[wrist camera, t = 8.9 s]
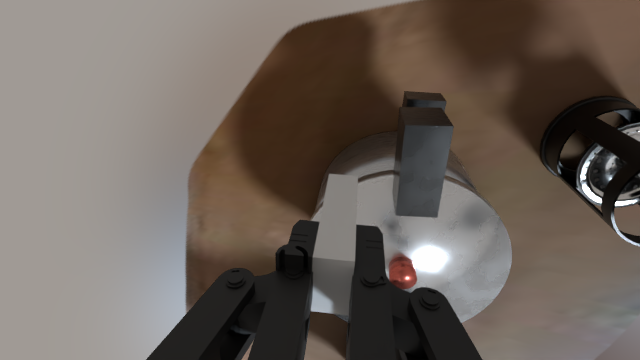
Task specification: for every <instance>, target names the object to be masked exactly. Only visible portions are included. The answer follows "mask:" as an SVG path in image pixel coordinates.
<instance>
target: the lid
mask: <svg viewBox="0 0 640 360" xmlns="http://www.w3.org/2000/svg"><path fill="white" fill-rule="evenodd" d="M453 127H454V126H453V125H452V123H451V122H450V120H449V119H448V117H447V116H446V114H445V112H444V111H443V109H442V108H434V107H400V108H399V119H398V129H397V140H396V150H395V161H394V170H387V171H380V172H376V173H372V174H369V175H365V176H363V177H360V178H358V188H357V217H356V224H357V225H368V226H378V228H379V229H380V231H381V232H382V233H383V243H384V256H385V268H386V275H387V277H388V279H389V281H390V282H391V283H392V284H393V285H395V286H396V287H398V288H400V289H402V290H405V291H408V292H410V293H411V292H412V291H414V290H415V289H416V288H420V287H428V288H432V289H435V290H437V291H439V292H440V293H442V294H443V295H444V296H445V297H446V298H447V300H448V301H449V303H450V305H451V306H452V308H453V310H454V311H455V313H456V315H457V317H458V318H459V320H460V322H461V323H462V322H464V321H466V320H468V319H470V318H472V317H473V316H475V315H476V314H478V313H479V312H480V311H482V310H483V309H484V308H485V307H487V306H488V305H489V304H490V303H491V302H492V301H493V300H494V299H495V297H496V296H497V295H498V294H499V292H500V291H501V289H502V288H503V286H504V284H505V282H506V280H507V277H508V275H509V272H510V267H511V262H512V249H511V241H510V238H509V235H508V232H507V230H506V228H505V226H504V224H503V223H502V221H501V219H500V217H499V216H498V214H497V212H496V211H495V209H494V208H493V207H492V205H491V204H490V203H489V202H488V201H487V200H486V199H485V198H484V197H483V196H482V195H481V194H480V193H479V192H477V191H476V190H474V189H473V188H472V187H470V186H469V185H467V184H465V183H463V182H461V181H459V180H457V179H455V178H452V177H449V176H446V175H445V172H446V166H447V160H448V155H449V149H450V144H451V138H452V132H453ZM323 202H324V201H323ZM323 202H322V203H321V204H320V205H319V207H318V208H317V209H316V210H315V212H314V213H313V215H312V217H311V219H310V220H309V221H318V222H320V217H321V212H322V207H323ZM334 315H336V316H337V317H339V318H341V319H342V320H344V321H346V322H348V319H349V316H348V315H340V314H334Z"/></svg>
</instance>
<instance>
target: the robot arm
mask: <svg viewBox="0 0 640 360" xmlns="http://www.w3.org/2000/svg"><path fill="white" fill-rule="evenodd" d="M357 188H358V176H350V175H338V174H329V177H328V182H327V187H326V192H325V197H324V202H323V207H322V212H321V217H320V222H318V221H307V220H299V221H298V222H297V223H296V224H295V225H294V226H293V229H292V233H291V236H290V239H289V242H288V244H287V245H283V246H282V247H280V248H279V249H278V250H277V252H276V271H274V272H272V273H270V274H267V275H262V276H255V277H254V275H253V274H252V273H251V272H250V271H248V270H247V269H243V268H235V269H230V270H228V271H225V272H224V273H223V274H221V275H220V276H219V277H218V278H217V280H216V281H215V282H214V283H213V284H212V285H211V286H210V288H209V289H208V290H207V291H206V292H205V293H204V294H203V296H202V297H201V298H200V299H199V300H198V301H197V302H196V303H195V305H194V306H193V307H192V308H191V309H190V310H189V311H188V313H187V314H186V315H185V316H184V317H183V319H182V320H181V321H180V322H179V323H178V324H177V325H176V326H175V328H174V329H173V330H172V331H171V332H170V333H169V335H167V337H166V338H165V339H164V340H163V341H162V342H161V344H160V345H159V346H158V347H157V348H156V349H155V350H154V351H153V353H152V354H151V355H150V356H149V357H148V358H147V359H146V360H241V359H242V358H243V356H244V354H245V353H246V351H247V350H248V348H249V346H250V345H251V343H252V341H253V340H254V342H253V345H252V348H251V351H250V354H249V358H248V360H304V355H305V349H306V343H307V336H308V330H309V324H310V311H314V312H322V313H331V314H340V315H348V316H349V319H348V328H347V337H346V341H347V348H346V360H482V358H481V357H480V355H479V353H478V351H477V350H476V348H475V346H474V344H473V343H472V341H471V339H470V337H469V336H468V334H467V332H466V331H465V329H464V327H463V325H462V324H461V322H460V320H459V318H458V317H457V315H456V313H455V311H454V310H453V308H452V306H451V305H450V303H449V301H448V300H447V298H446V297H445V296H444V295H443V294H442V293H440V292H439V291H437V290H435V289H432V288H428V287H420V288H416V289H415V290H414V291H412V292H411V293H410V292H408V291H405V290H402V289H400V288H398V287H396V286H395V285H393V284H392V283H391V282H390V281H389V279H388V277H387V275H386V268H385V256H384V243H383V233H382V232H381V231H380V229H379V228H378V226H368V225H357V224H356V217H357ZM254 338H255V339H254Z"/></svg>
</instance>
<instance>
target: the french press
mask: <svg viewBox="0 0 640 360" xmlns="http://www.w3.org/2000/svg"><path fill="white" fill-rule="evenodd" d="M612 111H614V112H617V113H619V114H621V115H622V116H623V117H624V118H625V119H626V121H627V123H628V124H626V125H622V126H619V127H616V128H614V127H612V126H611V125H609V124H607V123H605V122H603V121H602V120H600V119H598V118H596V117H597V116H600V115H602V114H604V113H608V112H612ZM576 130H577V131H579V132H580V133H582V134H583V135H585V136H586V137H588V138H589V139H591V140H592V141H593V142H592V143H591V144H590V145H589V147H588V148H587V149H586V150H585V152H584V153H583V155H582V156H581V158H580V160H579V162H578V165H577V169H576V170H571V169H568V168H566V167H564V166H562V165H561V164H560V162H559V159H560V154H561V151H562V149H563V146H564V144H565V143H566V141H567V140H568V139H569V137H570V136H571V135H572V134H573V133H574V132H575V131H576ZM540 153H541V158H542V161H543V164H544V165H545V167H546V168H547V169H548V170H549V171H550V172H551V173H552V174H553V175H555V176H557V177H559V178H560V179H561V180H562V181H563V182H564V183H565V184H567V185H568V186H569V187H570V188H571V189H572V190H573V191H574V192H575V193H576V194H577V195H578V196H579V197H580V198H581V199H582V200H583V201H584V202H585V203H586V204H587V205H588V206H589V207H590V208H591V209H593V210H594V211H595V212H596V213H597V214H598V215H599V216H600V217H601V218H602V219H603V220H604V221H605V222H606V223H607V224H608V225H609V226H610V227H611V228H612V229H613V230H614V231H615V232H616V233H617V234H619V235H620V236H621V237H622V238H623V239H624V240H626V241H628V242H630V243H632V244H634V245H638V246H640V236H634V235H631V234H627V233H624V232H622V231H620V230H618V228H617V227H616V224H615V220H614V208H616V207H626V206H632V205H635V204H638V205H640V109H639V108H637V107H636V106H635V105H634V104H632V103H630V102H629V101H627V100H625V99H621V98H618V97H612V96H600V97H593V98H589V99H585V100H583V101H580V102H578V103H576V104H573V105H572V106H570V107H569V108H567V109H565V110H564V111H563V112H561V113H560V114H559V115H558V116H557V117H556V118H555V119H554V120H553V121H552V122H551V123H550V125H549V126H548V128H547V129H546V131H545V133H544V135H543V138H542V141H541V147H540ZM579 191H580V192H581V193H580V192H579ZM591 202H592V203H594V204H596V205H599V206H601V210H602V212H601V211H600V210H599V209H598V208H596V207H595V206H594V205H593V204H592V203H591Z"/></svg>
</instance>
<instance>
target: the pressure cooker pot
mask: <svg viewBox="0 0 640 360" xmlns="http://www.w3.org/2000/svg"><path fill="white" fill-rule="evenodd" d="M445 106H446V100H445V99H444V97H443V96H442V95H441V93H425V92H409V91H404V98H403V104H402V107H434V108H442V109H443V111H444V110H445ZM396 140H397V131H391V132H382V133H378V134H374V135H370V136H368V137H365V138H362V139H360V140H358V141H356V142H354V143H352V144H351V145H349V146H348V147H347V148H345V149H344V150H343V151H342V152H340V153H339V154H338V155H337V156H336V157H335V159H334V160H333V161H332V162H331V164H330V165H329V167H328V168H327V170H326V172H325V174H324V177H323V179H322V183H321V187H320V191H319V196H318V200H317V205H316V209H317V208H318V207H319V205H320V204H321V203H322V202H323V201H324V197H325V192H326V187H327V182H328V177H329V174H338V175H350V176H358V178H360V177H363V176H365V175H369V174H372V173H376V172H380V171H387V170H394V161H395V150H396ZM445 175H446V176H449V177H452V178H455V179H457V180H459V181H461V182H463V183H465V184H467V185H469V186H470V187H472V188H473V189H474V190H476V191H477V189H476V187H475V185H474V184H473V182H472V180H471V178H470V177H469V175H468V173H467V171H466V169H465V168H464V166H463V164H462V163H461V161H460V160H459V159H458V157H457V156H456V155H455V154H454V153H453V152H452V151H451V150H450V149H449V155H448V160H447V166H446V172H445ZM477 192H478V191H477ZM316 209H315V210H316Z"/></svg>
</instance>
